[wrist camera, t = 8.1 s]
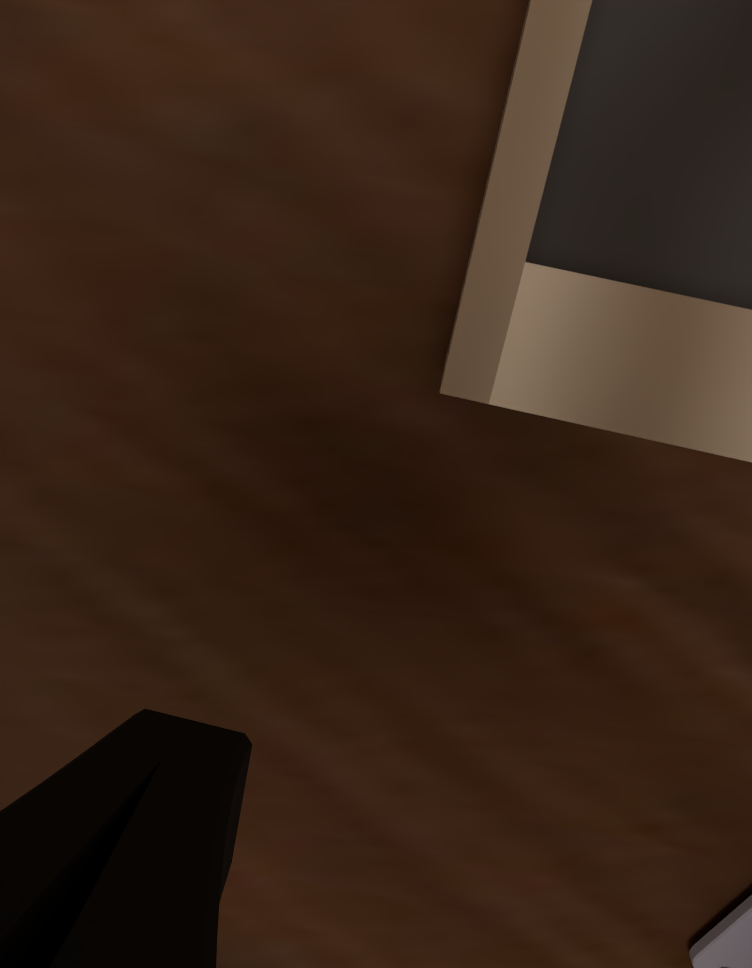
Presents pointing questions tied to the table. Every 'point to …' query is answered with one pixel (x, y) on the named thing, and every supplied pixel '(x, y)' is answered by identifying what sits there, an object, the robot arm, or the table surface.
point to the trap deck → (619, 227)
